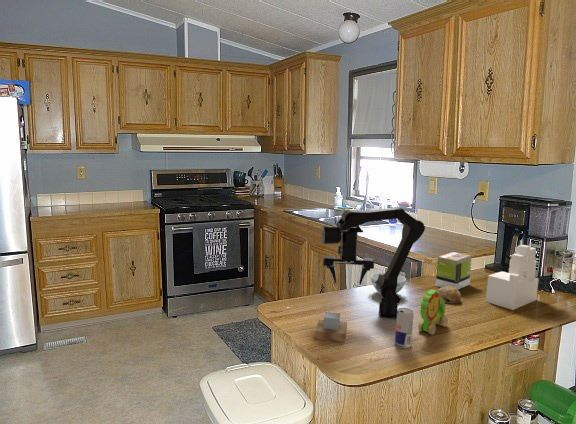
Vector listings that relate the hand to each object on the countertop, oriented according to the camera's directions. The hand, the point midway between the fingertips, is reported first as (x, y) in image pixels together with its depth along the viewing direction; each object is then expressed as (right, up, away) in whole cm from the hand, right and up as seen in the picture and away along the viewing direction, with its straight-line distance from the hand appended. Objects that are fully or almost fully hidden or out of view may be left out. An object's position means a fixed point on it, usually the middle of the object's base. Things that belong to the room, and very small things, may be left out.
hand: (347, 283), depth 173 cm
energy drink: (+15, -17, -22) cm, 32 cm away
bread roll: (+47, -11, +25) cm, 54 cm away
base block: (-8, -15, -15) cm, 23 cm away
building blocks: (+75, -12, +25) cm, 80 cm away
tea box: (+56, -8, +44) cm, 72 cm away
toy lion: (+29, -15, -8) cm, 34 cm away
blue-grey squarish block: (-8, -12, -16) cm, 21 cm away
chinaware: (+21, -9, +28) cm, 37 cm away
